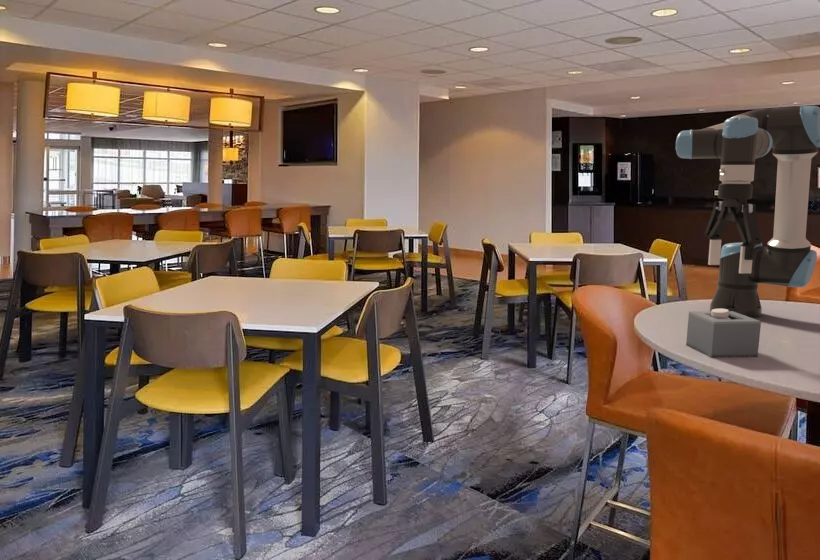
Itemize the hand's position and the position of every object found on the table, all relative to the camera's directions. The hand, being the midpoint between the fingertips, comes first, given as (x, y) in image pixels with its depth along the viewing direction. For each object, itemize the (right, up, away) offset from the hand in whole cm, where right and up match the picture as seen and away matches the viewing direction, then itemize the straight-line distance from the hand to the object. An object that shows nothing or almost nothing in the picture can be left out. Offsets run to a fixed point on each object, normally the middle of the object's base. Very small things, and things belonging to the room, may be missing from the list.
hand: (728, 268), depth 165 cm
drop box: (-1, -21, +3) cm, 21 cm away
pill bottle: (-1, -20, +3) cm, 20 cm away
